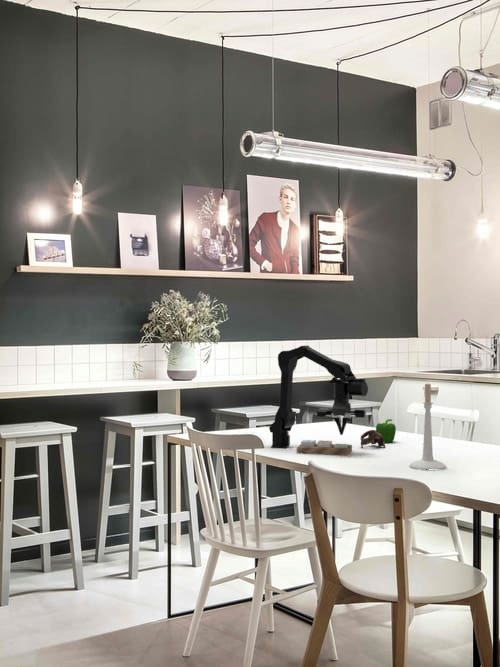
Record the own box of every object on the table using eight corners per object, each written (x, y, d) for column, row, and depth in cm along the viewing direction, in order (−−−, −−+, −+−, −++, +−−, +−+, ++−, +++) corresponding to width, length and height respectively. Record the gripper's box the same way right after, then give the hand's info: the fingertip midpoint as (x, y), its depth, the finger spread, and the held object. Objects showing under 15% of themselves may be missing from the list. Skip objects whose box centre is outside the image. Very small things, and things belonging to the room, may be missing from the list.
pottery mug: (388, 450, 348) (379, 433, 346) (367, 460, 349) (358, 443, 347) (385, 438, 359) (376, 422, 357) (364, 448, 361) (356, 432, 359)
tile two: (317, 448, 338) (317, 441, 338) (319, 446, 343) (319, 440, 343) (330, 448, 337) (330, 442, 337) (331, 446, 342) (331, 440, 342)
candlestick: (428, 463, 314) (428, 380, 313) (454, 468, 303) (454, 383, 302) (401, 466, 307) (401, 382, 306) (427, 471, 296) (427, 384, 296)
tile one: (301, 447, 340) (301, 441, 340) (303, 445, 345) (303, 439, 345) (313, 448, 338) (313, 441, 338) (315, 446, 343) (315, 440, 343)
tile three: (333, 451, 337) (333, 445, 337) (335, 449, 341) (335, 443, 341) (346, 451, 335) (346, 445, 335) (348, 450, 340) (348, 443, 340)
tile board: (296, 453, 337) (296, 447, 337) (302, 449, 348) (302, 443, 348) (347, 455, 332) (347, 449, 332) (351, 450, 343) (351, 444, 343)
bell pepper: (373, 443, 365) (373, 419, 364) (378, 440, 372) (378, 417, 372) (393, 444, 362) (393, 420, 361) (397, 441, 369) (397, 418, 369)
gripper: (314, 396, 332) (314, 436, 333) (362, 397, 328) (362, 438, 328) (319, 394, 343) (319, 433, 343) (366, 394, 339) (366, 434, 339)
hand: (341, 434), depth 338 cm, fingers closed
